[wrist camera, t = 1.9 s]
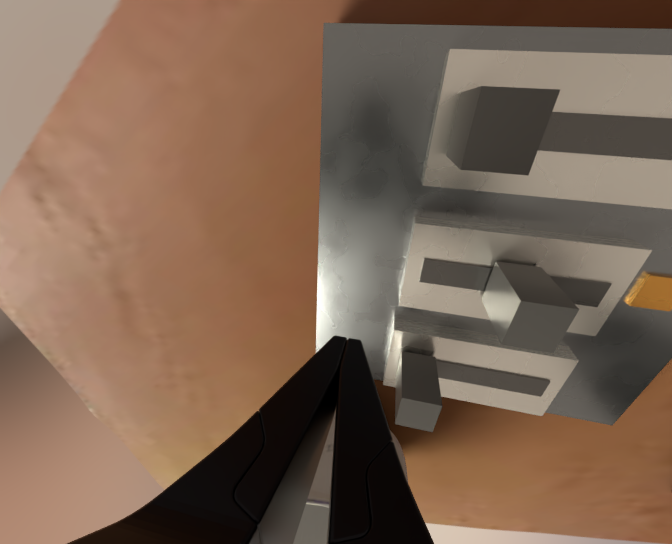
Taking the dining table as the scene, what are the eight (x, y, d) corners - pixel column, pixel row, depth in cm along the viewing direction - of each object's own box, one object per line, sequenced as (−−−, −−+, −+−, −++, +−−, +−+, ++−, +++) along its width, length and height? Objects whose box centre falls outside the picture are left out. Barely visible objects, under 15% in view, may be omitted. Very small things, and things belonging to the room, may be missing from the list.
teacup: (383, 372, 21) (375, 503, 14) (427, 461, 25) (437, 596, 18) (234, 396, 26) (174, 500, 19) (291, 466, 30) (258, 573, 23)
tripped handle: (541, 266, 12) (579, 309, 9) (523, 305, 13) (553, 353, 10) (495, 261, 12) (520, 300, 10) (481, 299, 13) (500, 344, 11)
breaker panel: (881, 44, 9) (1034, 23, 7) (597, 403, 18) (624, 443, 16) (332, 32, 12) (316, 14, 10) (320, 351, 21) (311, 380, 18)
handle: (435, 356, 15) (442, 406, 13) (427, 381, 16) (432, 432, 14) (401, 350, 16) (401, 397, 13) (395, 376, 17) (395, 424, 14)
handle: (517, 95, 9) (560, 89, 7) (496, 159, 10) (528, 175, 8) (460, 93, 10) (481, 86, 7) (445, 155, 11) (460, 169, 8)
